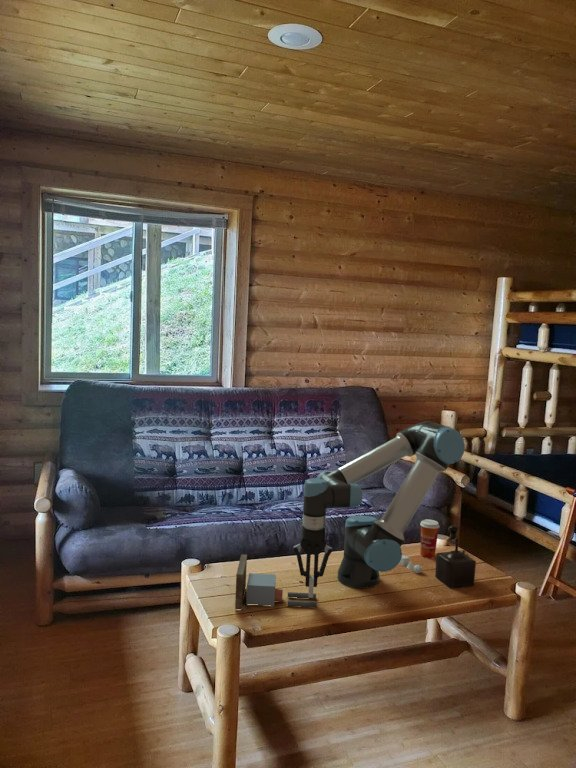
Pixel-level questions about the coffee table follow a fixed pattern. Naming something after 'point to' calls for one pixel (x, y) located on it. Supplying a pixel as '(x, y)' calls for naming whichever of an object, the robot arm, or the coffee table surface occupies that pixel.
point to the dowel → (278, 595)
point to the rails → (301, 603)
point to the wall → (240, 581)
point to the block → (261, 589)
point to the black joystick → (455, 565)
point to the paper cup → (429, 537)
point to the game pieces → (410, 564)
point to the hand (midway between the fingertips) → (310, 595)
